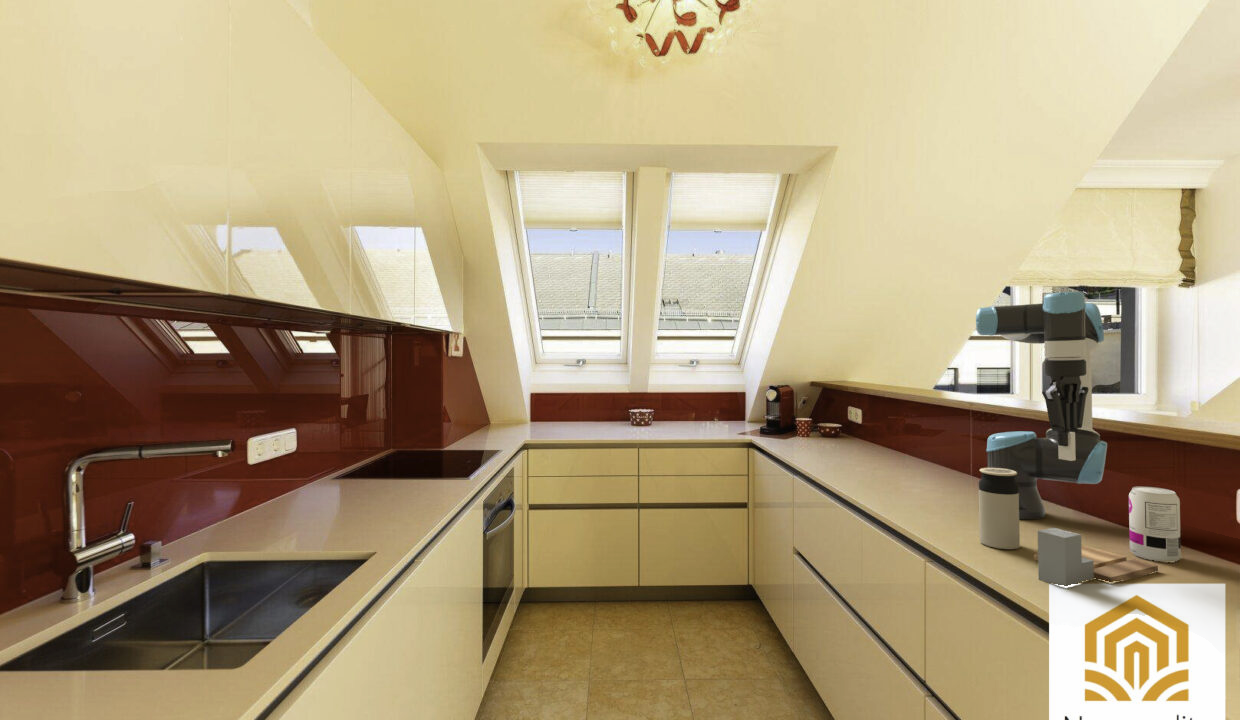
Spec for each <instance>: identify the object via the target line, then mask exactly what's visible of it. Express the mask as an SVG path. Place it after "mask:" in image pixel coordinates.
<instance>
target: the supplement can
mask: <svg viewBox="0 0 1240 720" xmlns="http://www.w3.org/2000/svg"><path fill="white" fill-rule="evenodd" d="M1180 500H1181V499H1180V498H1179V496H1178V495H1177V493H1176V492H1175V491H1174V490H1170V489H1167V488H1161V487H1154V486H1153V487H1152V486H1133V487H1132V488H1131V490H1130V492H1129V494H1128V515H1129V516H1128V520H1129V521H1128V522H1129V524H1128V525H1129V531H1128V533H1129V551H1130V552H1131V553H1132V554H1133V555H1134V556H1136V557H1138V558H1140V557H1141V558H1142V559H1144V560H1147V559H1148V561H1152V560H1154V561H1153V562H1158V561H1169V562H1170V561H1176V562H1177V561H1179V560H1181V559H1182V557H1181V556H1182V555H1181V554H1182V552H1181V550H1182V549H1181V546H1182V545H1181V510H1180V509H1181V508H1180V507H1181V501H1180ZM1170 563H1171V562H1170Z"/></svg>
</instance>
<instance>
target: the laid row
mask: <svg viewBox="0 0 1240 720" xmlns="http://www.w3.org/2000/svg"><path fill="white" fill-rule="evenodd" d="M1155 571H1158V572H1159V565H1158V564H1154V563H1151V562H1148V561H1143V560H1140V559H1136V558H1132V559H1128V560H1127V561H1124V562H1120V563H1116V564H1112V565H1107V566H1103V567H1099V568H1095V569H1094V578H1096V579H1101V580H1105V581H1109V582H1113V581H1121V580H1126V581H1129V579H1130V580H1133V579H1137V578H1140V576H1141V577H1145V576H1148V575H1147V574H1149V575H1151V574H1150V573H1152V572H1155ZM1152 574H1153V573H1152ZM1144 575H1145V576H1144ZM1136 577H1137V578H1136ZM1132 578H1133V579H1132Z"/></svg>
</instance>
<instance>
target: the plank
mask: <svg viewBox="0 0 1240 720" xmlns="http://www.w3.org/2000/svg"><path fill="white" fill-rule="evenodd" d="M1081 551H1082V557H1083V558H1086V559H1090V560H1093V564H1094V569H1095V568H1099V567H1103V566H1107V565H1112V564H1116V563H1120V562H1124V561H1128V560H1127V556H1126V555H1121V554H1117V553H1114V552H1110V551H1105V550H1102V549H1099V548H1095V547H1092V546H1091V547H1090V546H1086V545H1082V544H1081ZM1033 560H1034V561H1037V562H1038V553H1035V554H1033Z"/></svg>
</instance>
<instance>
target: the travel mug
mask: <svg viewBox="0 0 1240 720" xmlns="http://www.w3.org/2000/svg"><path fill="white" fill-rule="evenodd" d="M979 472H980V474H981V477H980V480H979V482H978V510H979V511H978V516H979V519H978V520H979V543H981V544H983V545H985V546H987V547H989V548H992V549H999V550H1008V551H1011V550H1017V549H1019V548H1020V547H1021V542H1020V541H1021V539H1020V538H1021V535H1020V519H1019V486H1018V484H1017V483H1016V481H1015V476H1016V475H1017V472H1016V471H1013V470H1009V469H1002V468H988V467H981V468H980V469H979Z"/></svg>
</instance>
